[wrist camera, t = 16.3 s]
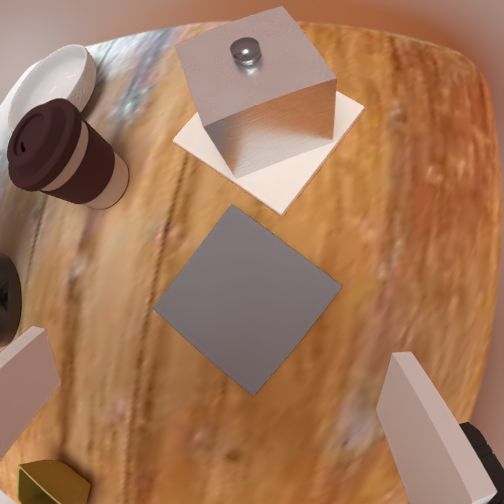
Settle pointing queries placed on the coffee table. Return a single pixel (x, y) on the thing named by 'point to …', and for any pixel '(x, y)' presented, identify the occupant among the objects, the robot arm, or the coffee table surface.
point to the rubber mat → (246, 299)
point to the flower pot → (50, 484)
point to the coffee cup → (65, 157)
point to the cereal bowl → (56, 82)
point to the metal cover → (260, 90)
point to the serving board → (277, 175)
